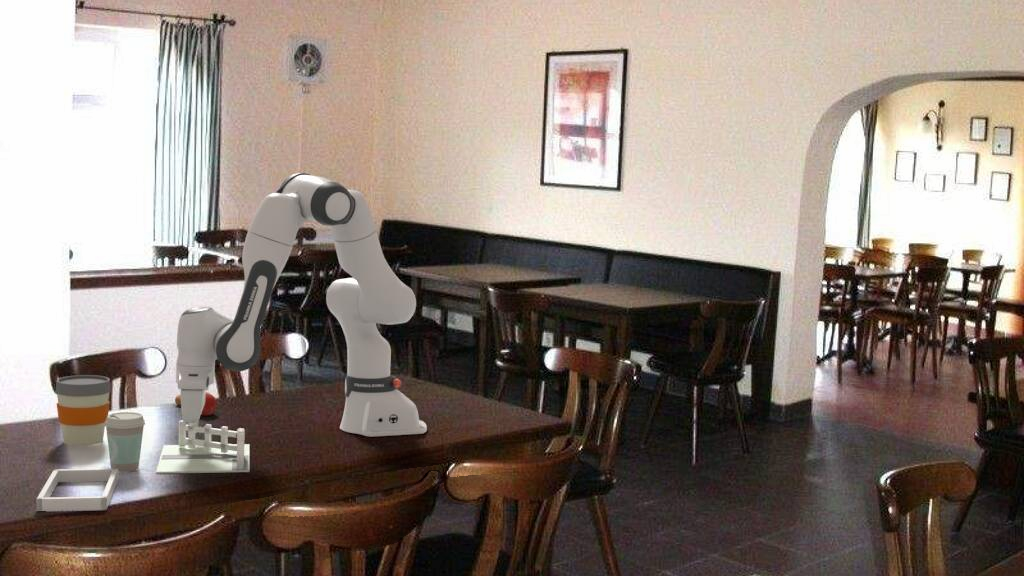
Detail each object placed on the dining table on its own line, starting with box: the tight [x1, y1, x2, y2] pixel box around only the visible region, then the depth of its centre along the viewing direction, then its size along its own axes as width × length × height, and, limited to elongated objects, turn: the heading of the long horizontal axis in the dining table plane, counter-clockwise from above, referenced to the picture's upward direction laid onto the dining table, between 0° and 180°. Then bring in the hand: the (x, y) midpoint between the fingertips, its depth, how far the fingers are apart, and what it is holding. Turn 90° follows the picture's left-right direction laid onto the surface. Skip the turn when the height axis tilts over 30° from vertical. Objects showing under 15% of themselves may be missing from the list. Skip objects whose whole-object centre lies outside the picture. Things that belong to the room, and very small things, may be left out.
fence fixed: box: [236, 429, 246, 470], centre depth 276 cm, size 11×2×6 cm, turn 12°
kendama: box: [174, 391, 218, 417], centre depth 330 cm, size 8×6×18 cm
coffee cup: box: [105, 411, 146, 473], centre depth 269 cm, size 8×8×12 cm
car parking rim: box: [35, 468, 119, 512], centre depth 249 cm, size 13×22×2 cm, turn 12°
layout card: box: [155, 443, 250, 475], centre depth 281 cm, size 20×24×1 cm
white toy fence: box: [178, 419, 246, 453], centre depth 285 cm, size 18×2×6 cm, turn 69°
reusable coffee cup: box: [55, 374, 112, 447], centre depth 292 cm, size 13×13×15 cm
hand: (193, 432), depth 289 cm, fingers closed
